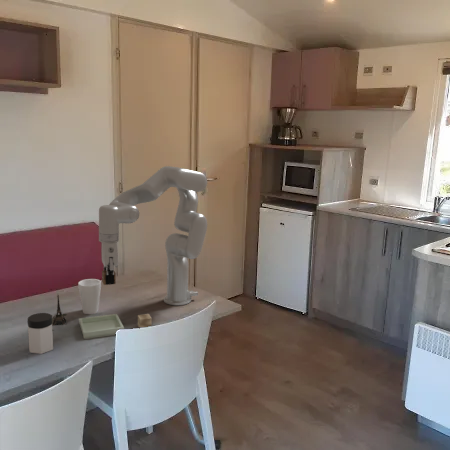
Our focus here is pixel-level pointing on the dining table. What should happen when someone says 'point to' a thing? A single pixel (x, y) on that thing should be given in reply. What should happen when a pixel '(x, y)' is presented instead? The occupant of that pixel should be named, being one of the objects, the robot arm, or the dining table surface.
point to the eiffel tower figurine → (59, 316)
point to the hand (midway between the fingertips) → (108, 281)
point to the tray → (100, 326)
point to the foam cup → (89, 295)
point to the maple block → (144, 320)
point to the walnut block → (105, 277)
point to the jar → (40, 333)
